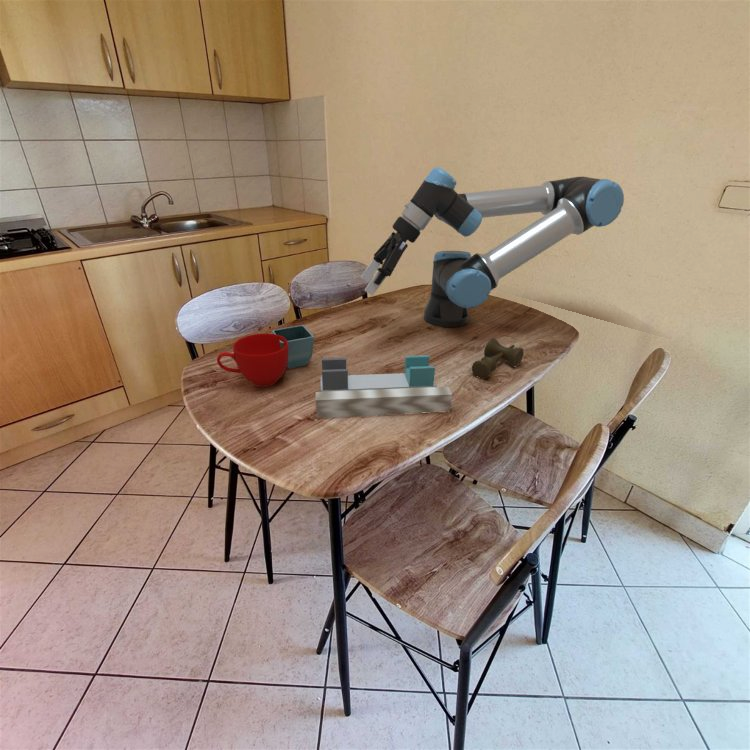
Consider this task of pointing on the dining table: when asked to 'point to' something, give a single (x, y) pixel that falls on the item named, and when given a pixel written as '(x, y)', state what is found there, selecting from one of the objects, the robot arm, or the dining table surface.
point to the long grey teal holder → (377, 376)
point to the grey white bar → (382, 402)
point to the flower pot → (297, 345)
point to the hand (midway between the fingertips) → (366, 286)
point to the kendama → (496, 358)
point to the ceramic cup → (259, 358)
